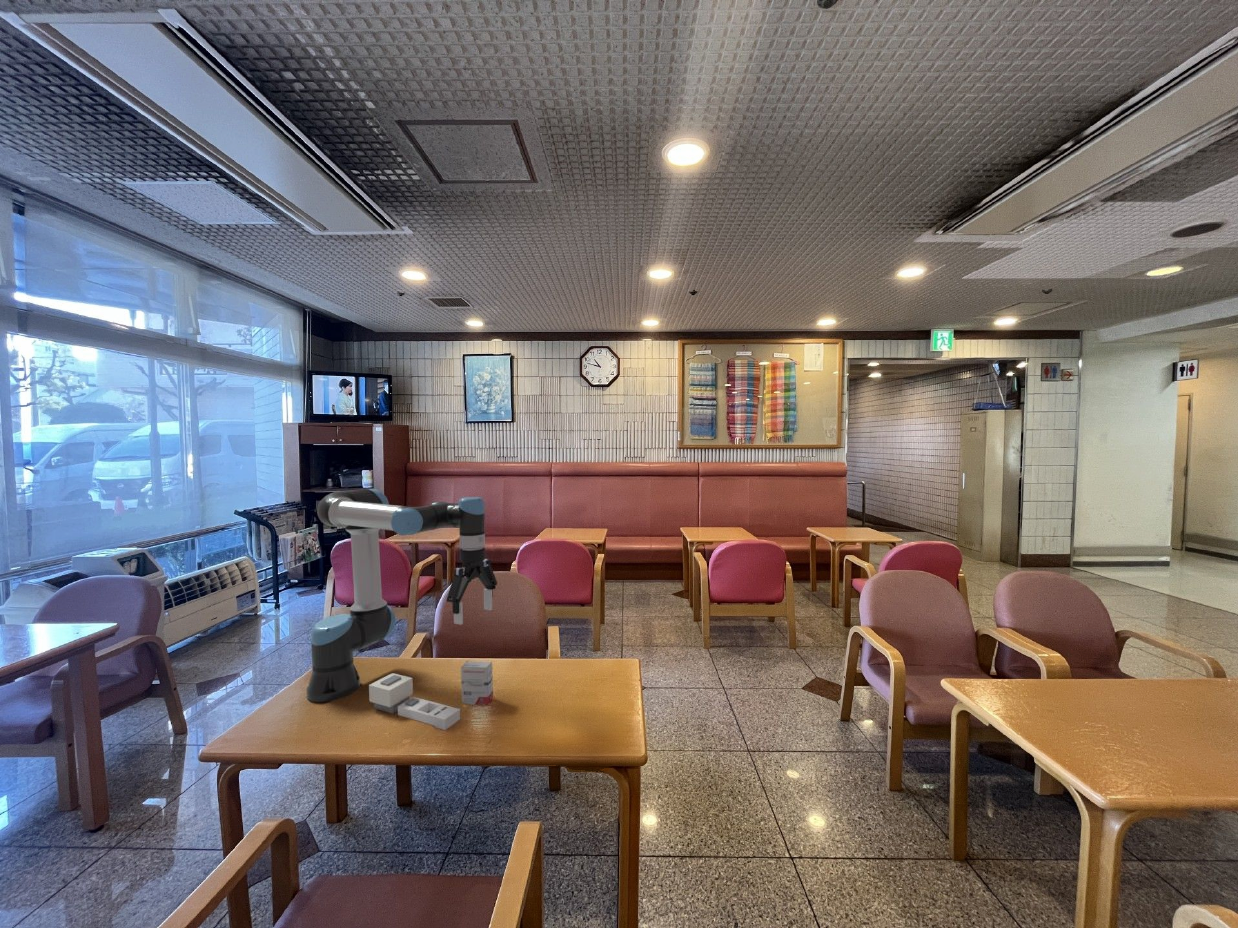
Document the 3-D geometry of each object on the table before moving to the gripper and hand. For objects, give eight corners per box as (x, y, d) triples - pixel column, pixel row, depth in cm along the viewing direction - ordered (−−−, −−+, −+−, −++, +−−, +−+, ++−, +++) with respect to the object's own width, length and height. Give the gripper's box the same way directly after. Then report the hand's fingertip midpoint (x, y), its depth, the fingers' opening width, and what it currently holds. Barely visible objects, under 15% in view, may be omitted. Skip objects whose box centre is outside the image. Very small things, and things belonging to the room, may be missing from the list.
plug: (369, 709, 148) (368, 682, 148) (393, 696, 156) (392, 671, 156) (390, 715, 145) (389, 688, 144) (413, 701, 152) (412, 675, 152)
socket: (398, 716, 145) (397, 704, 145) (414, 706, 151) (413, 694, 150) (444, 730, 138) (444, 717, 138) (460, 719, 143) (459, 706, 143)
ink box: (494, 697, 155) (493, 660, 155) (488, 705, 151) (487, 667, 150) (467, 696, 156) (466, 659, 156) (461, 704, 151) (460, 666, 151)
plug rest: (373, 709, 149) (373, 699, 149) (390, 699, 155) (390, 690, 155) (393, 714, 146) (392, 704, 146) (409, 705, 151) (409, 695, 151)
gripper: (453, 557, 138) (454, 632, 139) (507, 541, 161) (508, 605, 162) (432, 555, 141) (434, 628, 142) (488, 539, 164) (490, 602, 165)
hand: (473, 616), depth 152 cm, fingers open, 13 cm apart
